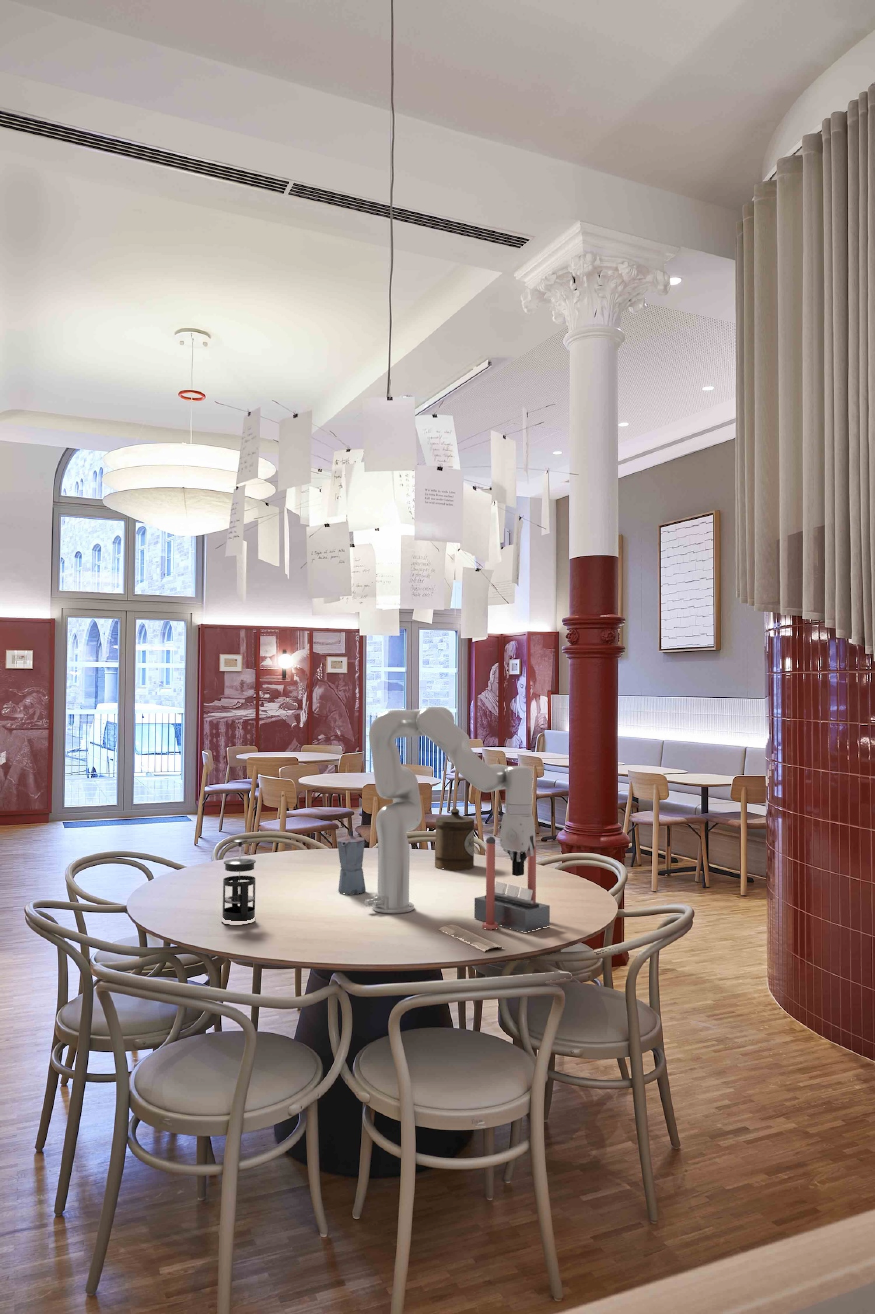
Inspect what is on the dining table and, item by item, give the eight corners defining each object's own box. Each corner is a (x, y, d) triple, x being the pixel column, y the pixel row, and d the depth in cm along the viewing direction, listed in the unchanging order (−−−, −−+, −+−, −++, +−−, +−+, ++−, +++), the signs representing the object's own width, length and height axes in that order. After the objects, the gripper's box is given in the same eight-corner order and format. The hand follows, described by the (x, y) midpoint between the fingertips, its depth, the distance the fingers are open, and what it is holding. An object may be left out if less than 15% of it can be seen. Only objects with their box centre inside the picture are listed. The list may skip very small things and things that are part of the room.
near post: (490, 931, 235) (490, 838, 236) (479, 927, 238) (479, 836, 240) (501, 928, 238) (501, 836, 239) (490, 925, 241) (490, 834, 242)
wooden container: (477, 870, 319) (477, 810, 320) (437, 870, 317) (438, 811, 318) (470, 862, 334) (470, 805, 335) (432, 863, 332) (433, 806, 333)
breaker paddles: (530, 903, 238) (533, 890, 239) (489, 893, 250) (492, 880, 251) (533, 904, 238) (536, 891, 239) (492, 894, 250) (496, 881, 251)
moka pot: (329, 895, 275) (330, 833, 276) (346, 885, 290) (346, 826, 291) (357, 897, 273) (358, 834, 274) (372, 887, 288) (373, 827, 289)
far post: (532, 920, 246) (532, 832, 247) (520, 917, 250) (521, 830, 251) (542, 918, 249) (542, 830, 250) (531, 915, 252) (531, 829, 254)
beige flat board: (504, 952, 218) (504, 945, 218) (481, 956, 214) (481, 949, 214) (457, 930, 238) (457, 923, 238) (435, 933, 235) (435, 926, 235)
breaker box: (525, 933, 233) (525, 908, 233) (474, 918, 248) (474, 895, 248) (549, 927, 240) (549, 903, 240) (498, 913, 255) (498, 890, 255)
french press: (217, 918, 245) (219, 837, 246) (249, 915, 250) (251, 835, 251) (227, 928, 235) (229, 844, 236) (261, 924, 239) (262, 841, 240)
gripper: (490, 808, 247) (490, 872, 246) (529, 813, 235) (528, 881, 234) (508, 806, 251) (508, 869, 251) (547, 811, 240) (546, 877, 239)
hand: (518, 874), depth 242 cm, fingers closed
